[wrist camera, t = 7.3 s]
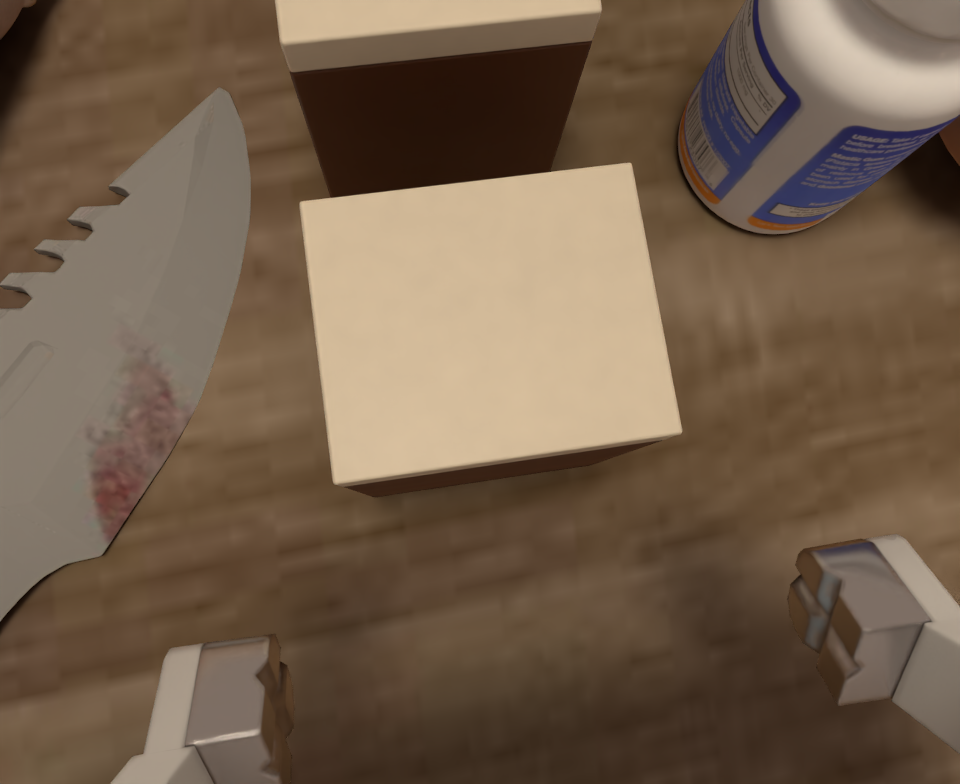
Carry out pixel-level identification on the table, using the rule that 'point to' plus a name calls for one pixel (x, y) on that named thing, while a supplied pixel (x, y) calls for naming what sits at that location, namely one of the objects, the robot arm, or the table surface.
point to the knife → (117, 345)
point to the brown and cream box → (434, 86)
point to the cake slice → (486, 329)
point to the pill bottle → (817, 105)
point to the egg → (952, 138)
